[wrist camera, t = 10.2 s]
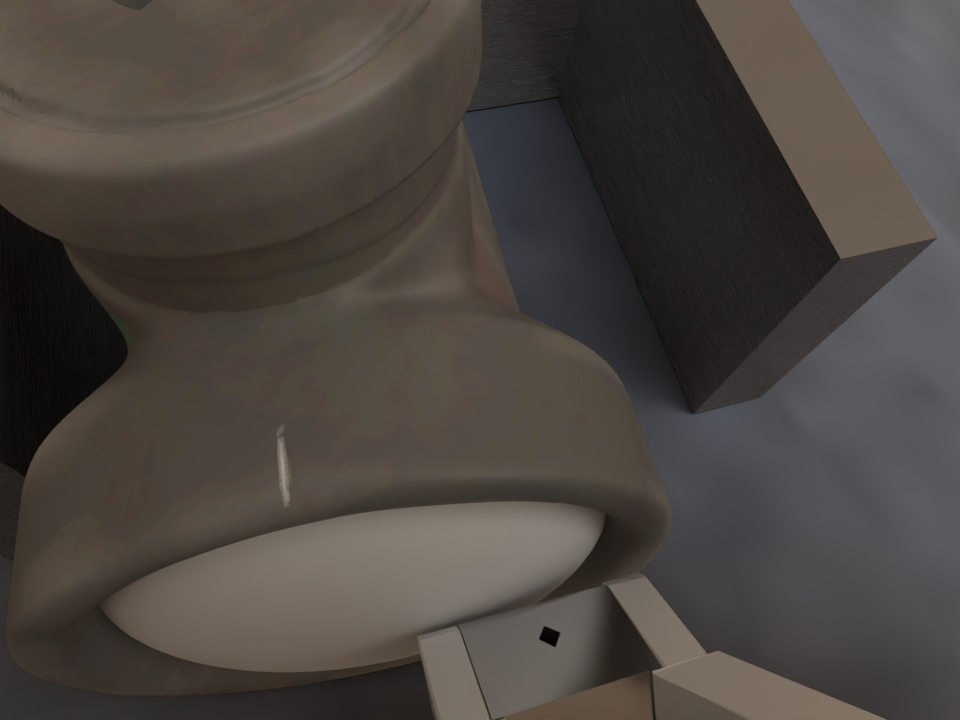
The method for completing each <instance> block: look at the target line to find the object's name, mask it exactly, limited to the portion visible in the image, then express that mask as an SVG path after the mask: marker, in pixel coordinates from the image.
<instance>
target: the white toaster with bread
mask: <svg viewBox="0 0 960 720" xmlns="http://www.w3.org/2000/svg"><path fill="white" fill-rule="evenodd" d="M481 13H482V60H481V68H480V72H479V78H478V82H477V85H476V89H475V92H474V94H473V97H472V100H471V102H470V104H469V107H468V109H467V111H472V110H479V109H485V108H491V107H497V106H504V105H510V104H516V103H522V102H528V101H535V100H541V99H547V98H553V97H558V98H559V100H560V103H561V105H562V107H563V110H564V112H565V114H566V117H567V119H568V121H569V124H570V126H571V128H572V131H573V133H574V135H575V138H576V140H577V142H578V145H579V147H580V149H581V152H582V154H583V156H584V159H585V161H586V163H587V166H588V168H589V170H590V173H591V175H592V178H593V180H594V182H595V185H596V187H597V189H598V192H599V194H600V196H601V199H602V201H603V203H604V206H605V208H606V210H607V213H608V215H609V217H610V220H611V222H612V224H613V227H614V229H615V231H616V234H617V236H618V238H619V241H620V243H621V245H622V248H623V250H624V252H625V255H626V257H627V259H628V262H629V264H630V266H631V269H632V271H633V274H634V276H635V278H636V281H637V283H638V285H639V288H640V290H641V292H642V295H643V297H644V299H645V302H646V304H647V306H648V309H649V311H650V313H651V316H652V318H653V320H654V323H655V325H656V327H657V330H658V332H659V334H660V337H661V339H662V341H663V344H664V346H665V348H666V351H667V353H668V355H669V358H670V360H671V363H672V365H673V367H674V370H675V372H676V374H677V377H678V379H679V381H680V384H681V386H682V388H683V391H684V393H685V395H686V398H687V400H688V402H689V405H690V407H691V409H692V412H693V414H696V413H700V412H704V411H708V410H711V409H715V408H719V407H723V406H727V405H731V404H735V403H739V402H743V401H747V400H750V399H754V398H758V397H761V396H762V395H763V394H764V393H766V392H767V391H768V390H769V389H770V388H771V387H772V386H773V385H774V384H776V383H777V382H778V381H779V380H780V379H781V378H782V377H783V376H784V375H786V374H787V373H788V372H789V371H790V370H791V369H792V368H793V367H794V366H796V365H797V364H798V363H799V362H800V361H801V360H802V359H803V358H804V357H806V356H807V355H808V354H809V353H810V352H811V351H812V350H813V349H814V348H816V347H817V346H818V345H819V344H820V343H821V342H822V341H823V340H824V339H826V338H827V337H828V336H829V335H830V334H831V333H832V332H833V331H834V330H836V329H837V328H838V327H839V326H840V325H841V324H842V323H843V322H844V321H846V320H847V319H848V318H849V317H850V316H851V315H852V314H853V313H854V312H856V311H857V310H858V309H859V308H860V307H861V306H862V305H863V304H864V303H866V302H867V301H868V300H869V299H870V298H871V297H872V296H873V295H874V294H876V293H877V292H878V291H879V290H880V289H881V288H882V287H883V286H884V285H886V284H887V283H888V282H889V281H890V280H891V279H892V278H893V277H894V276H896V275H897V274H898V273H899V272H900V271H901V270H902V269H903V268H904V267H906V266H907V265H908V264H909V263H910V262H911V261H912V260H913V259H914V258H916V257H917V256H918V255H919V254H920V253H921V252H922V251H923V250H924V249H926V248H927V247H928V246H929V245H930V244H931V243H932V242H933V241H934V240H936V239H937V238H938V237H937V235H936V234H935V232H934V230H933V229H932V227H931V226H930V224H929V222H928V221H927V219H926V218H925V216H924V215H923V213H922V211H921V210H920V208H919V207H918V205H917V203H916V202H915V200H914V199H913V197H912V195H911V194H910V192H909V191H908V189H907V188H906V186H905V184H904V183H903V181H902V180H901V178H900V176H899V175H898V173H897V172H896V170H895V168H894V167H893V165H892V164H891V162H890V161H889V159H888V157H887V156H886V154H885V153H884V151H883V149H882V148H881V146H880V145H879V143H878V141H877V140H876V138H875V137H874V135H873V134H872V132H871V130H870V129H869V127H868V126H867V124H866V122H865V121H864V119H863V118H862V116H861V114H860V113H859V111H858V110H857V108H856V107H855V105H854V103H853V102H852V100H851V99H850V97H849V95H848V94H847V92H846V91H845V89H844V87H843V86H842V84H841V83H840V81H839V80H838V78H837V76H836V75H835V73H834V72H833V70H832V68H831V67H830V65H829V64H828V62H827V60H826V59H825V57H824V56H823V54H822V53H821V51H820V49H819V48H818V46H817V45H816V43H815V41H814V40H813V38H812V37H811V35H810V33H809V32H808V30H807V29H806V27H805V26H804V24H803V22H802V21H801V19H800V18H799V16H798V14H797V13H796V11H795V10H794V8H793V6H792V5H791V3H790V2H789V0H481ZM127 355H128V346H127V343H126V340H125V338H124V336H123V334H122V332H121V331H120V329H119V327H118V326H117V325H116V323H115V322H114V320H113V319H112V318H111V316H110V315H109V314H108V313H107V311H106V310H105V309H104V307H103V306H102V305H101V304H100V302H99V301H98V300H97V299H96V297H95V296H94V295H93V294H92V292H91V291H90V290H89V288H88V287H87V286H86V285H85V283H84V282H83V280H82V279H81V278H80V276H79V275H78V273H77V271H76V270H75V268H74V266H73V265H72V263H71V261H70V259H69V257H68V255H67V253H66V250H65V247H64V245H63V242H62V241H61V240H59V239H57V238H54V237H52V236H50V235H47V234H45V233H43V232H41V231H39V230H37V229H35V228H33V227H32V226H30V225H28V224H26V223H25V222H23V221H22V220H20V219H19V218H17V217H16V216H15V215H13V214H12V213H11V212H9V211H8V210H7V209H6V208H4V207H3V206H2V205H1V204H0V556H3V557H6V558H8V559H11V560H13V561H14V553H15V545H16V537H17V529H18V521H19V513H20V505H21V497H22V491H23V486H24V482H25V478H26V475H27V471H28V469H29V466H30V464H31V462H32V460H33V458H34V455H35V454H36V452H37V450H38V448H39V447H40V445H41V444H42V442H43V441H44V440H45V438H46V437H47V436H48V435H49V434H50V432H51V431H52V430H53V429H54V428H55V427H56V426H57V425H58V424H59V423H60V422H61V421H62V420H63V419H64V418H65V417H66V416H67V415H68V414H69V413H70V412H71V411H72V410H73V409H75V408H76V407H77V406H78V405H79V404H80V403H81V402H82V401H84V400H85V399H86V398H87V397H88V396H89V395H91V394H92V393H93V392H94V391H95V390H97V389H98V388H99V387H100V386H101V385H103V384H104V383H105V382H106V381H107V380H108V379H110V378H111V377H112V376H113V375H114V374H115V373H116V372H117V371H118V370H119V369H120V368H121V366H122V365H123V364H124V362H125V360H126V358H127Z"/></svg>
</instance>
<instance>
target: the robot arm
mask: <svg viewBox="0 0 960 720" xmlns="http://www.w3.org/2000/svg"><path fill="white" fill-rule="evenodd" d="M417 638H418V646H419V651H420V656H421V660H422V665H423V670H424V675H425V679H426V684H427V689H428V694H429V698H430V703H431V708H432V712H433V717H434V720H887V719H884V718H882V717H879V716H877V715H874V714H872V713H869V712H867V711H865V710H862V709H860V708H857V707H855V706H852V705H850V704H847V703H845V702H843V701H840V700H838V699H835V698H833V697H830V696H828V695H825V694H823V693H821V692H818V691H816V690H813V689H811V688H808V687H806V686H803V685H801V684H799V683H796V682H794V681H791V680H789V679H786V678H784V677H782V676H779V675H777V674H774V673H772V672H769V671H767V670H764V669H762V668H760V667H757V666H755V665H752V664H750V663H747V662H745V661H742V660H740V659H738V658H735V657H733V656H730V655H728V654H725V653H723V652H720V651H716V652H712V653H709V654H707V653H706V652H705V650H704V649H703V648H702V647H701V645H700V644H699V643H698V642H697V640H696V639H695V638H694V637H693V635H692V634H691V633H690V632H689V630H688V629H687V628H686V627H685V625H684V624H683V623H682V622H681V620H680V619H679V618H678V616H677V615H676V614H675V613H674V611H673V610H672V609H671V608H670V606H669V605H668V604H667V603H666V601H665V600H664V599H663V598H662V596H661V595H660V594H659V593H658V591H657V590H656V589H655V587H654V586H653V585H652V584H651V582H650V581H649V580H648V579H647V577H646V576H645V575H643V574H641V573H639V572H637V573H633V574H630V575H627V576H624V577H621V578H618V579H614V580H611V581H608V582H605V583H602V585H599V586H595V587H592V588H589V589H585V590H582V591H578V592H575V593H572V594H568V595H565V596H562V597H558V598H555V599H552V600H548V601H545V602H541V603H538V604H535V605H530V606H526V607H523V608H519V609H515V610H511V611H508V612H504V613H500V614H496V615H492V616H489V617H485V618H481V619H477V620H474V621H470V622H466V623H462V624H458V628H457V627H456V626H453V627H449V628H446V629H442V630H438V631H435V632H431V633H427V634H424V635H420V636H417Z"/></svg>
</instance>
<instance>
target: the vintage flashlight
mask: <svg viewBox="0 0 960 720" xmlns="http://www.w3.org/2000/svg"><path fill="white" fill-rule="evenodd" d="M481 60H482V13H481V0H0V204H1V205H2V206H3V207H4V208H6V209H7V210H8V211H9V212H11V213H12V214H13V215H15V216H16V217H17V218H19V219H20V220H22V221H23V222H25V223H26V224H28V225H30V226H32V227H33V228H35V229H37V230H39V231H41V232H43V233H45V234H47V235H50V236H52V237H54V238H57V239H59V240H61V241H62V242H63V245H64V247H65V250H66V253H67V255H68V257H69V259H70V261H71V263H72V265H73V266H74V268H75V270H76V271H77V273H78V275H79V276H80V278H81V279H82V280H83V282H84V283H85V285H86V286H87V287H88V288H89V290H90V291H91V292H92V294H93V295H94V296H95V297H96V299H97V300H98V301H99V302H100V304H101V305H102V306H103V307H104V309H105V310H106V311H107V313H108V314H109V315H110V316H111V318H112V319H113V320H114V322H115V323H116V325H117V326H118V327H119V329H120V331H121V332H122V334H123V336H124V338H125V340H126V343H127V346H128V355H127V358H126V360H125V362H124V364H123V365H122V366H121V368H120V369H119V370H118V371H117V372H116V373H115V374H114V375H113V376H112V377H111V378H110V379H108V380H107V381H106V382H105V383H104V384H103V385H101V386H100V387H99V388H98V389H97V390H95V391H94V392H93V393H92V394H91V395H89V396H88V397H87V398H86V399H85V400H84V401H82V402H81V403H80V404H79V405H78V406H77V407H76V408H75V409H73V410H72V411H71V412H70V413H69V414H68V415H67V416H66V417H65V418H64V419H63V420H62V421H61V422H60V423H59V424H58V425H57V426H56V427H55V428H54V429H53V430H52V431H51V432H50V434H49V435H48V436H47V437H46V438H45V440H44V441H43V442H42V444H41V445H40V447H39V448H38V450H37V452H36V454H35V455H34V458H33V460H32V462H31V464H30V466H29V469H28V471H27V475H26V478H25V482H24V486H23V491H22V497H21V505H20V513H19V521H18V529H17V537H16V545H15V553H14V561H13V570H12V578H11V586H10V594H9V602H8V611H7V619H6V644H7V647H8V650H9V652H10V655H11V656H12V657H13V659H14V660H15V661H16V662H17V664H18V665H19V666H20V668H21V669H23V670H24V671H26V672H27V673H29V674H31V675H33V676H35V677H37V678H40V679H43V680H46V681H48V682H51V683H53V684H57V685H60V686H64V687H68V688H73V689H79V690H84V691H89V692H96V693H102V694H111V695H120V696H128V695H146V696H191V695H212V694H225V693H238V692H249V691H258V690H267V689H276V688H284V687H292V686H299V685H305V684H310V683H316V682H323V681H329V680H334V679H340V678H345V677H350V676H356V675H361V674H365V673H370V672H375V671H380V670H384V669H388V668H393V667H397V666H402V665H406V664H410V663H414V662H417V661H421V656H420V651H419V646H418V638H417V636H420V635H424V634H427V633H431V632H435V631H438V630H442V629H446V628H449V627H453V626H456V627H457V628H458V624H462V623H466V622H470V621H474V620H477V619H481V618H485V617H489V616H492V615H496V614H500V613H504V612H508V611H511V610H515V609H519V608H523V607H526V606H530V605H535V604H538V603H541V602H545V601H548V600H552V599H555V598H558V597H562V596H565V595H568V594H572V593H575V592H578V591H582V590H585V589H589V588H592V587H595V586H599V585H602V583H605V582H608V581H611V580H614V579H618V578H621V577H624V576H627V575H630V574H633V573H637V572H641V571H642V570H643V569H644V568H645V567H646V566H647V565H648V564H649V563H650V562H651V561H652V560H653V559H654V558H655V556H656V555H657V554H658V553H659V551H660V549H661V548H662V546H663V544H664V542H665V540H666V538H667V536H668V533H669V530H670V525H671V506H670V502H669V499H668V496H667V493H666V490H665V487H664V485H663V482H662V480H661V477H660V474H659V472H658V469H657V467H656V464H655V461H654V459H653V456H652V454H651V451H650V449H649V446H648V443H647V441H646V438H645V436H644V433H643V431H642V428H641V425H640V423H639V420H638V418H637V415H636V412H635V410H634V407H633V405H632V402H631V400H630V398H629V395H628V393H627V391H626V389H625V387H624V385H623V383H622V381H621V380H620V378H619V377H618V375H617V374H616V373H615V371H614V370H613V369H612V368H611V367H610V365H609V364H608V363H607V362H606V361H605V360H604V359H602V358H601V357H600V356H599V355H598V354H596V353H595V352H594V351H593V350H591V349H590V348H589V347H587V346H585V345H584V344H582V343H581V342H579V341H577V340H576V339H574V338H572V337H570V336H568V335H566V334H564V333H562V332H560V331H558V330H556V329H554V328H552V327H550V326H548V325H546V324H544V323H542V322H540V321H538V320H536V319H534V318H532V317H530V316H528V315H525V314H523V313H521V312H520V311H519V308H518V304H517V301H516V297H515V294H514V291H513V287H512V284H511V280H510V277H509V274H508V270H507V267H506V263H505V260H504V257H503V253H502V250H501V246H500V243H499V240H498V236H497V233H496V229H495V226H494V223H493V219H492V216H491V212H490V209H489V206H488V202H487V199H486V196H485V192H484V189H483V185H482V182H481V179H480V175H479V172H478V170H477V166H476V162H475V158H474V155H473V151H472V148H471V145H470V141H469V139H468V136H467V132H466V128H465V124H464V121H463V117H464V115H465V113H466V111H467V109H468V107H469V104H470V102H471V100H472V97H473V94H474V92H475V89H476V85H477V82H478V78H479V72H480V68H481Z"/></svg>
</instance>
